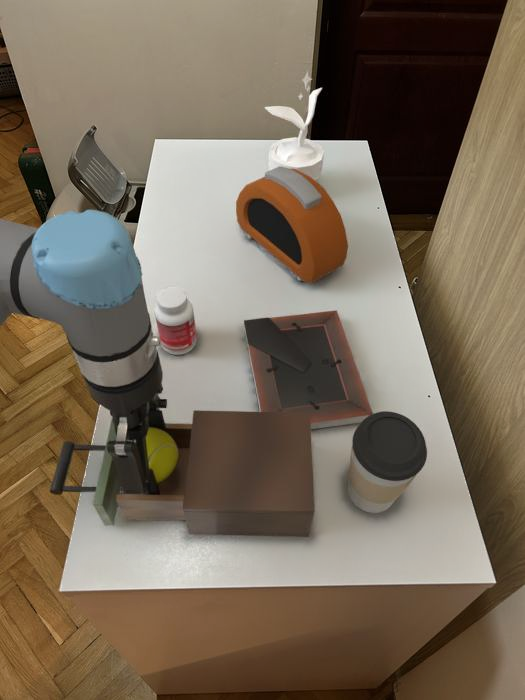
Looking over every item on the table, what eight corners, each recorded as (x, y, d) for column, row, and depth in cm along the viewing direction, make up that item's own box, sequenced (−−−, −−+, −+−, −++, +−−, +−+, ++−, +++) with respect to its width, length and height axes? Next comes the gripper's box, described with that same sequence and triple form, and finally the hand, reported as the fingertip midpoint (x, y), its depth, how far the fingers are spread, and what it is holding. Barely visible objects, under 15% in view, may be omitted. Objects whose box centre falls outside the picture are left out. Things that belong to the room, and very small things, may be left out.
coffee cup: (405, 466, 77) (432, 411, 65) (402, 527, 71) (432, 478, 59) (343, 454, 78) (359, 398, 66) (335, 513, 72) (351, 462, 61)
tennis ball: (115, 472, 70) (104, 446, 65) (153, 436, 74) (146, 408, 68) (154, 503, 67) (146, 478, 62) (191, 464, 71) (186, 437, 66)
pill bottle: (199, 352, 89) (194, 307, 81) (163, 359, 88) (153, 314, 80) (194, 325, 93) (188, 280, 84) (159, 331, 92) (149, 285, 83)
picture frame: (243, 329, 93) (264, 437, 79) (243, 319, 91) (264, 428, 77) (335, 318, 95) (370, 422, 81) (337, 309, 93) (373, 413, 79)
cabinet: (189, 534, 70) (182, 508, 63) (198, 441, 79) (193, 410, 72) (308, 537, 70) (314, 511, 63) (305, 444, 79) (310, 412, 72)
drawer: (53, 524, 70) (36, 503, 64) (75, 439, 78) (62, 414, 72) (215, 528, 70) (212, 507, 64) (221, 442, 78) (219, 418, 72)
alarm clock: (234, 230, 110) (232, 156, 96) (268, 213, 113) (270, 140, 100) (310, 294, 98) (319, 220, 85) (345, 273, 102) (359, 200, 89)
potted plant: (317, 176, 122) (329, 63, 102) (321, 207, 115) (335, 91, 95) (262, 176, 122) (264, 62, 102) (263, 207, 114) (265, 91, 95)
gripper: (141, 453, 46) (172, 543, 63) (170, 286, 58) (189, 400, 76) (54, 451, 46) (109, 542, 63) (102, 284, 58) (137, 399, 76)
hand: (153, 465), depth 70 cm, fingers open, 7 cm apart
